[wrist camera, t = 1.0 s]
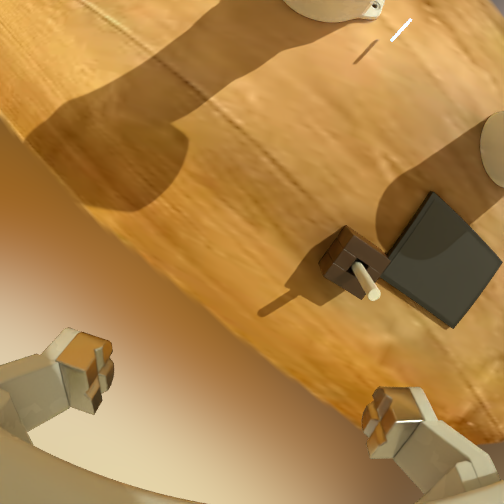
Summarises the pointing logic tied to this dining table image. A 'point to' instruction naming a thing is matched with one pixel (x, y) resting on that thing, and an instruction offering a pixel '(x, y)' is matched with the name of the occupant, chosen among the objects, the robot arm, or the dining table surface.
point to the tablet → (441, 262)
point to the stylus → (365, 280)
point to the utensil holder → (493, 147)
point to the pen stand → (344, 255)
